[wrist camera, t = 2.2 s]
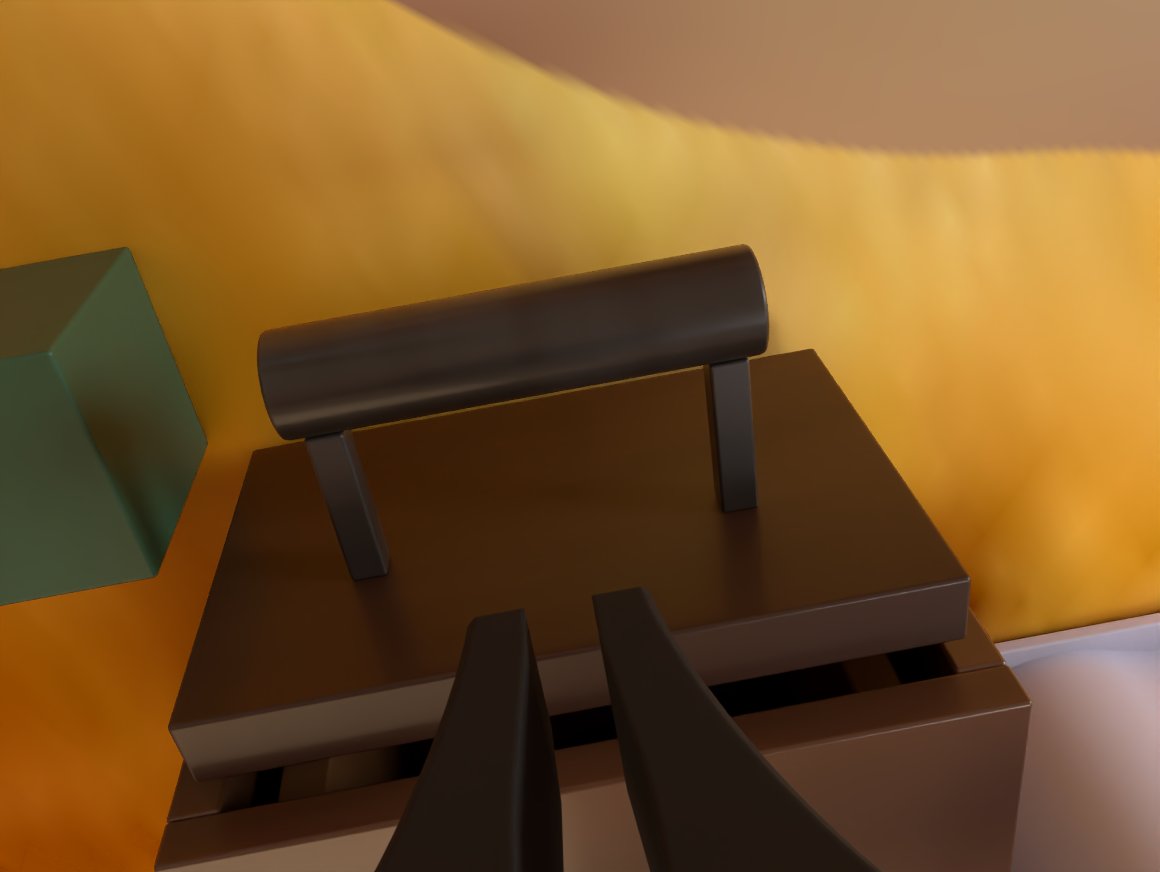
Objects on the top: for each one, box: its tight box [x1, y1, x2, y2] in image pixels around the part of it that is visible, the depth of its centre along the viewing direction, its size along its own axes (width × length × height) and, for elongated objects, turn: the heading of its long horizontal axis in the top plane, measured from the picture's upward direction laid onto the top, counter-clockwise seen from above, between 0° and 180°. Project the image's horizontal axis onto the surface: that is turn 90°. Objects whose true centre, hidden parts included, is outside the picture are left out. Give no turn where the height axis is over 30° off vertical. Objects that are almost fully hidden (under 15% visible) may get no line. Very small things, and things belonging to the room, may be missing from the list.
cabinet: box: [154, 607, 1033, 872], centre depth 22 cm, size 15×13×9 cm
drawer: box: [168, 244, 971, 802], centre depth 20 cm, size 18×11×7 cm, turn 8°
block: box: [0, 247, 208, 606], centre depth 18 cm, size 4×4×4 cm
